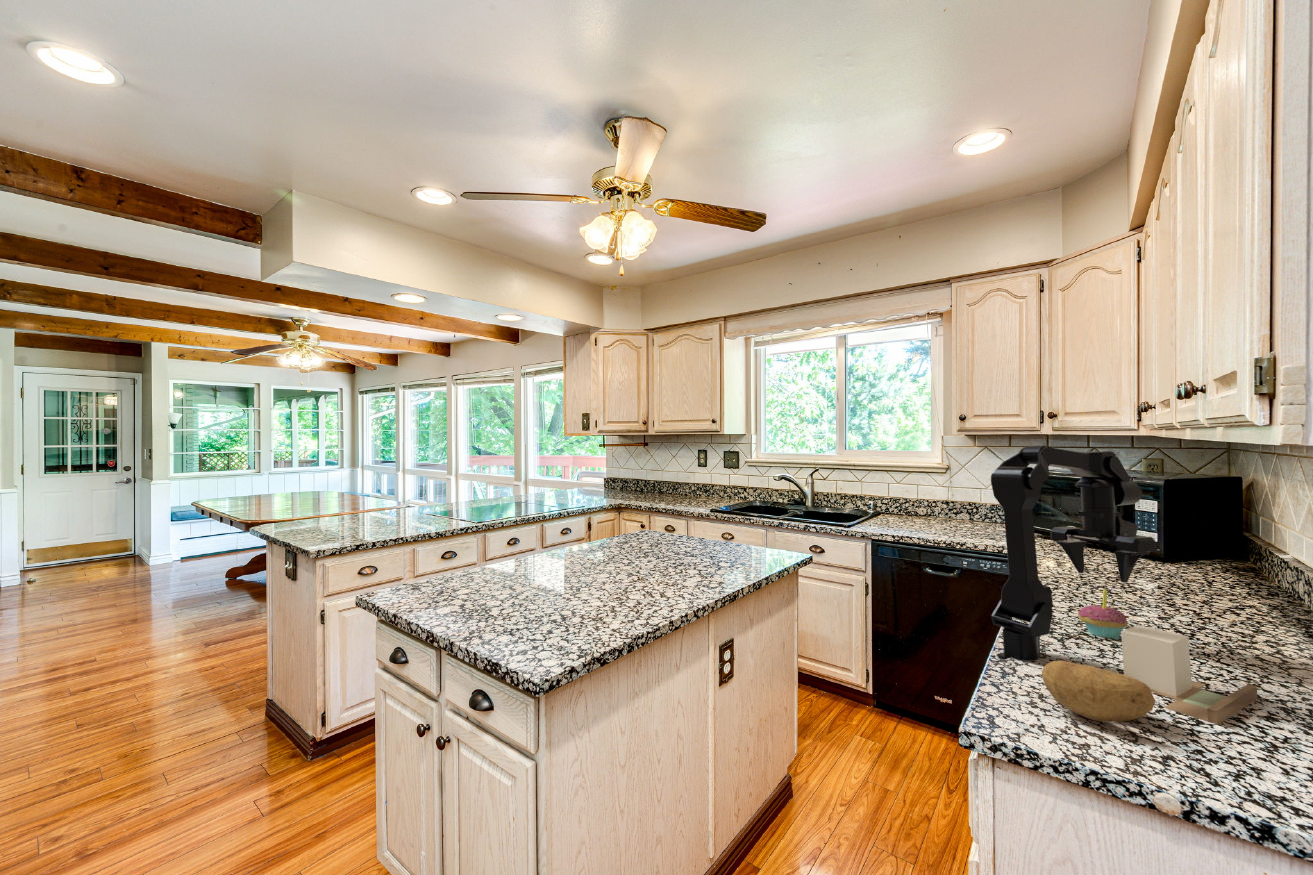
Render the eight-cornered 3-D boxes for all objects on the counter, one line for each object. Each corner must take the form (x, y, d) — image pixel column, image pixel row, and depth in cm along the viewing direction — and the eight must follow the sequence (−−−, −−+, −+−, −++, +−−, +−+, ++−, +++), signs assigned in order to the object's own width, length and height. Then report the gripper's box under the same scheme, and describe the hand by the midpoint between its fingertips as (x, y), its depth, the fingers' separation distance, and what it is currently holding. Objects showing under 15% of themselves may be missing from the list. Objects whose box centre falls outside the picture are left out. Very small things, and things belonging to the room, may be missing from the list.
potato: (1158, 746, 76) (1154, 690, 76) (1039, 715, 86) (1036, 666, 86) (1157, 719, 83) (1154, 668, 83) (1048, 693, 93) (1045, 648, 93)
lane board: (1097, 691, 93) (1096, 674, 93) (1141, 671, 100) (1140, 655, 100) (1217, 731, 79) (1216, 711, 79) (1258, 704, 86) (1256, 686, 86)
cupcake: (1138, 645, 112) (1135, 589, 113) (1093, 644, 114) (1090, 589, 114) (1112, 631, 121) (1109, 579, 121) (1070, 630, 122) (1067, 579, 123)
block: (1124, 681, 94) (1121, 631, 94) (1140, 673, 97) (1137, 625, 97) (1176, 696, 88) (1172, 643, 88) (1191, 688, 90) (1188, 636, 91)
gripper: (1174, 509, 109) (1179, 584, 109) (1084, 502, 128) (1087, 566, 127) (1133, 512, 107) (1138, 588, 106) (1047, 504, 125) (1050, 569, 125)
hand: (1102, 577), depth 116 cm, fingers open, 9 cm apart
